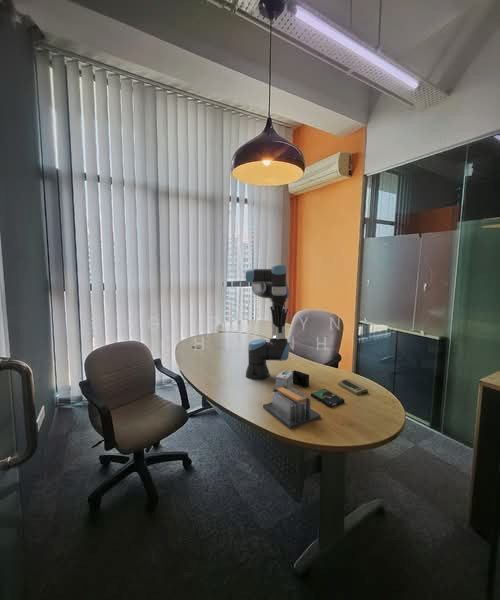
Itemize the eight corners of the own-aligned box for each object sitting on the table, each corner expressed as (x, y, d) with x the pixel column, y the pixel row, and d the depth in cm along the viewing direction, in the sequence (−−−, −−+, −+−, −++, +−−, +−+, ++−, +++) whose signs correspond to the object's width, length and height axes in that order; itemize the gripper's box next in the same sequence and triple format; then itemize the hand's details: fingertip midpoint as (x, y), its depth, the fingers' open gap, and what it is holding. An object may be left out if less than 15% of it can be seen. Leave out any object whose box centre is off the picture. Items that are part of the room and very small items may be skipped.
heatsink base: (262, 407, 139) (262, 387, 138) (291, 399, 148) (291, 380, 147) (290, 429, 121) (290, 406, 119) (320, 418, 129) (321, 396, 128)
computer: (337, 385, 166) (337, 380, 166) (348, 383, 169) (348, 378, 169) (356, 396, 152) (356, 390, 152) (368, 394, 155) (368, 388, 154)
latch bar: (276, 390, 141) (275, 387, 141) (282, 389, 143) (282, 385, 143) (299, 403, 125) (299, 400, 125) (306, 401, 127) (306, 398, 127)
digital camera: (289, 383, 169) (289, 372, 168) (294, 380, 173) (294, 370, 172) (303, 388, 161) (303, 377, 161) (308, 385, 165) (309, 374, 164)
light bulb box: (282, 387, 163) (282, 370, 162) (293, 390, 160) (293, 372, 158) (275, 395, 153) (275, 376, 152) (286, 397, 150) (286, 378, 149)
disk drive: (344, 404, 144) (324, 392, 157) (345, 399, 143) (324, 388, 156) (330, 409, 139) (310, 397, 152) (330, 404, 138) (310, 392, 151)
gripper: (266, 294, 149) (266, 337, 152) (280, 295, 138) (280, 342, 141) (277, 293, 153) (277, 335, 155) (292, 295, 142) (292, 340, 144)
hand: (278, 338), depth 148 cm, fingers closed
